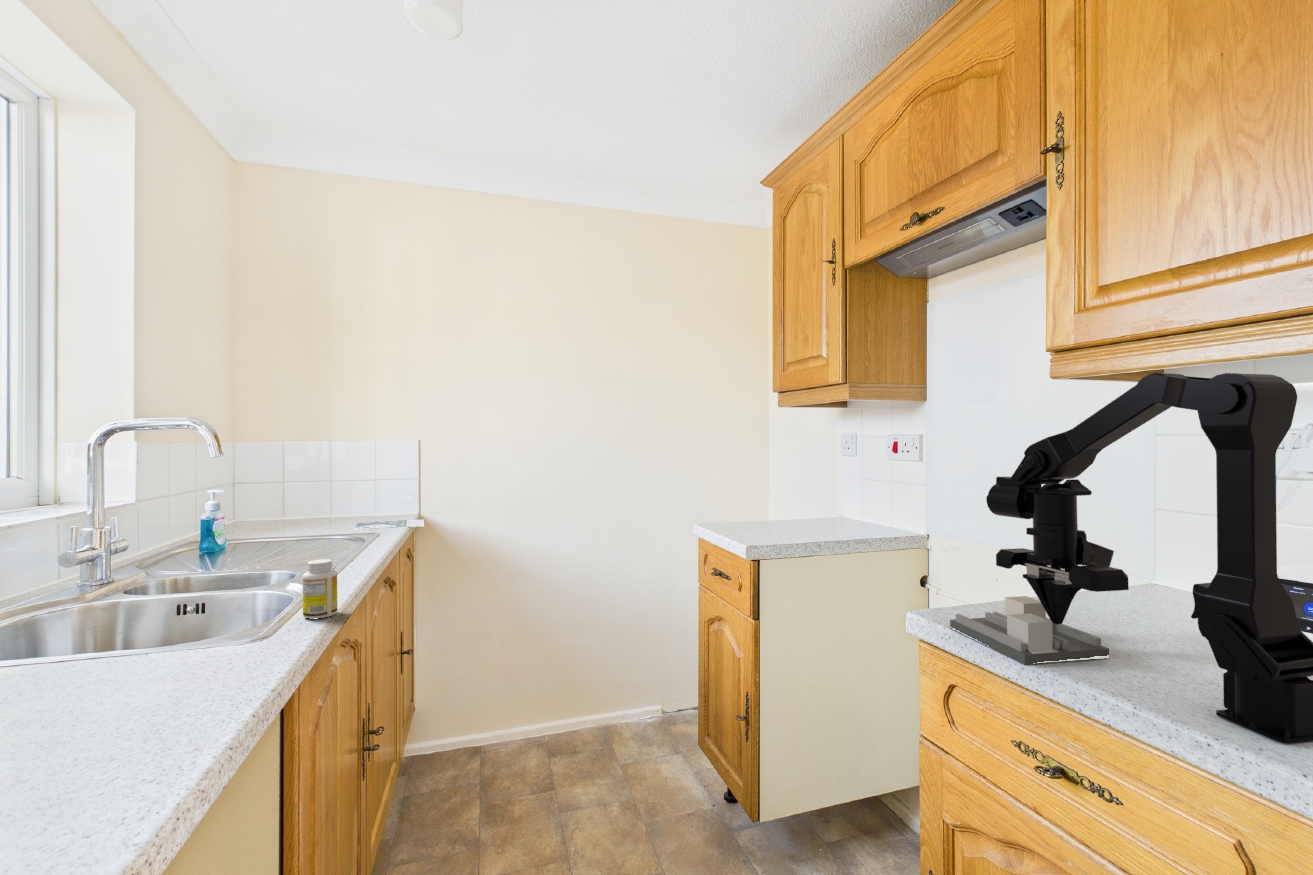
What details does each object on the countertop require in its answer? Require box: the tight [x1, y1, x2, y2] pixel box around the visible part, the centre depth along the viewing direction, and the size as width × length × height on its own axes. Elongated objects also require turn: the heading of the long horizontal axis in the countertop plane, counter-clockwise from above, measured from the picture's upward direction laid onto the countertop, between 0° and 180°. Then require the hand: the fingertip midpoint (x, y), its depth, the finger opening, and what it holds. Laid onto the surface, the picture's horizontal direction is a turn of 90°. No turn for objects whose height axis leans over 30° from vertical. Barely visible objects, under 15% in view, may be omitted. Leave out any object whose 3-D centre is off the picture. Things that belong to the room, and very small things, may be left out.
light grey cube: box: [1007, 613, 1053, 651], centre depth 84 cm, size 4×4×4 cm
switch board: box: [949, 611, 1110, 666], centre depth 90 cm, size 16×14×3 cm
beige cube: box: [1004, 595, 1047, 619], centre depth 94 cm, size 4×4×4 cm
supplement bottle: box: [302, 558, 338, 619], centre depth 106 cm, size 6×6×10 cm
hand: (1057, 623), depth 88 cm, fingers closed
